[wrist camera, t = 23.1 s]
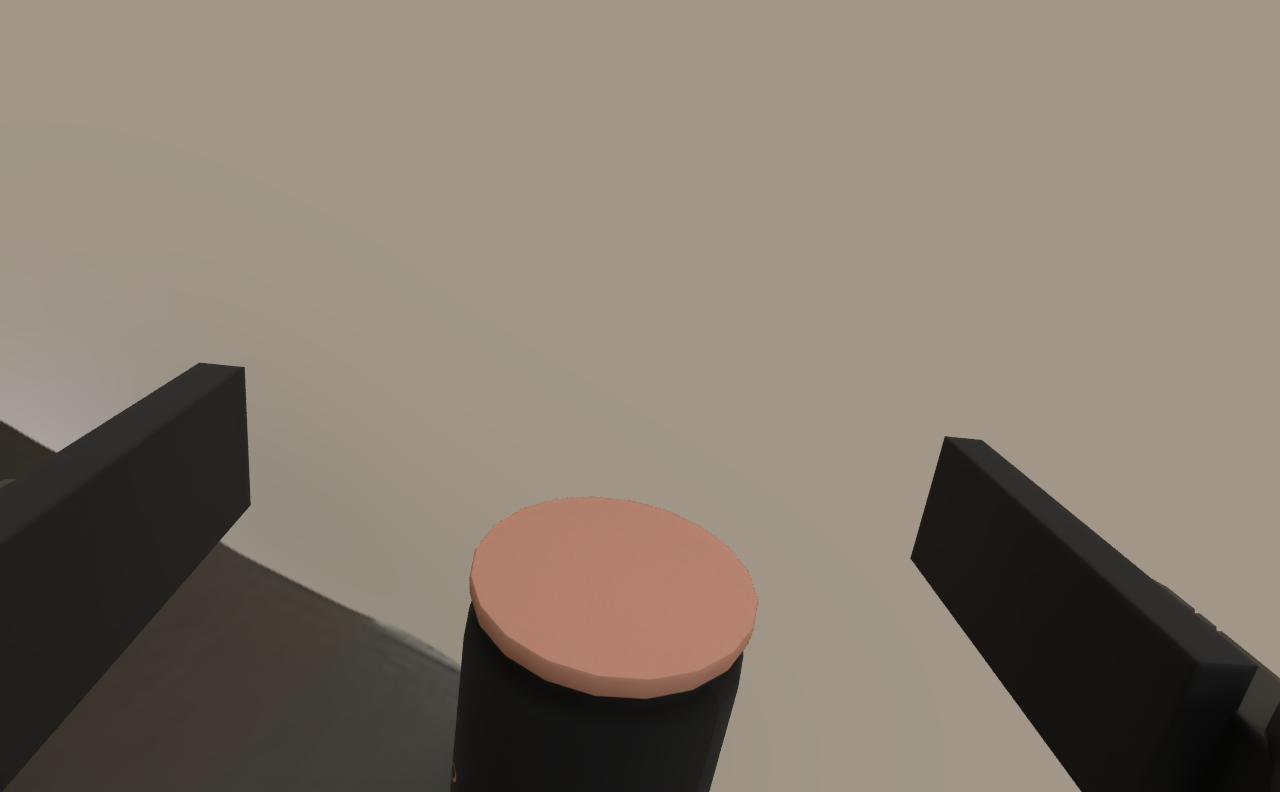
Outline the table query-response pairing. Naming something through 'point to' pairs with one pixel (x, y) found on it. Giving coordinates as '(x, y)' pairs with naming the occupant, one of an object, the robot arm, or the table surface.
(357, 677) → the table surface
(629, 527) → the coffee jar
